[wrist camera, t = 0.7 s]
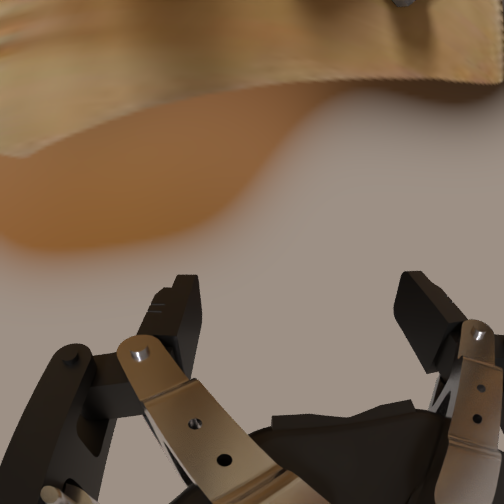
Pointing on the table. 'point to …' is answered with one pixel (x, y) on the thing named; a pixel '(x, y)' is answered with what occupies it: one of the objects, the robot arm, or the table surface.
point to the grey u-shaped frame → (403, 2)
